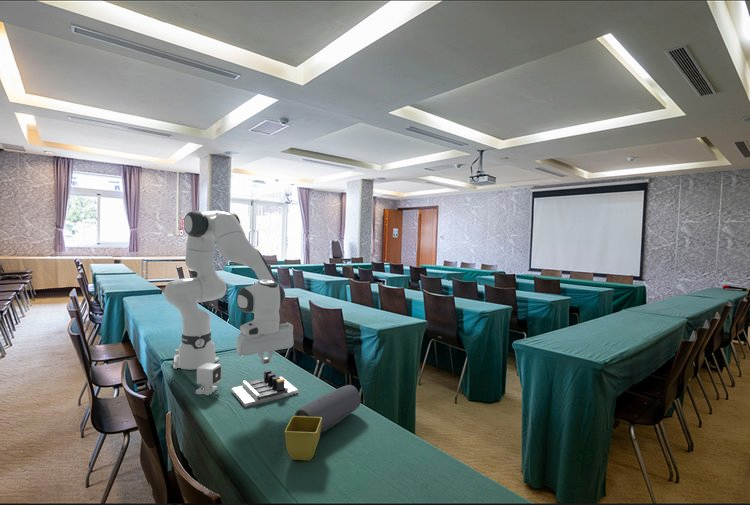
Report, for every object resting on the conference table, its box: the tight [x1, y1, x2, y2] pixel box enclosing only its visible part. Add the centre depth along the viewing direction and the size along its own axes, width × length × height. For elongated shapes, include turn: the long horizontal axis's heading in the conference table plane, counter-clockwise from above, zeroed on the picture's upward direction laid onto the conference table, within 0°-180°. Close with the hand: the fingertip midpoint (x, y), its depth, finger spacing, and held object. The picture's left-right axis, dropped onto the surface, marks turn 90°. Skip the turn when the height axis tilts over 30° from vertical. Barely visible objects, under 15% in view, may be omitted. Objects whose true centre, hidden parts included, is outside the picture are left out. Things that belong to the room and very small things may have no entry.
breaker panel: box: [231, 369, 299, 408], centre depth 143 cm, size 15×20×6 cm
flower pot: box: [284, 415, 322, 461], centre depth 105 cm, size 9×9×9 cm
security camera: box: [195, 363, 223, 396], centre depth 143 cm, size 6×7×10 cm
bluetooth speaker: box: [294, 384, 362, 433], centre depth 121 cm, size 23×9×10 cm, turn 145°
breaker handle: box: [276, 377, 286, 391], centre depth 140 cm, size 2×2×4 cm
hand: (265, 363), depth 137 cm, fingers closed
